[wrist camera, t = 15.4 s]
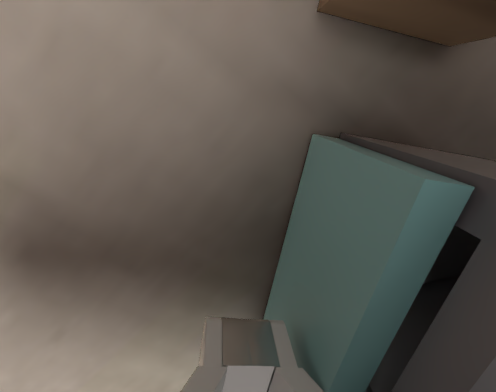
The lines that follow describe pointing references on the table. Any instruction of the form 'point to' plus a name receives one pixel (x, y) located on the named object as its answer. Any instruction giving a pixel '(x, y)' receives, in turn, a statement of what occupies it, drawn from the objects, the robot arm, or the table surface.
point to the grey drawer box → (466, 287)
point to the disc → (411, 333)
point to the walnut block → (422, 17)
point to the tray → (362, 257)
